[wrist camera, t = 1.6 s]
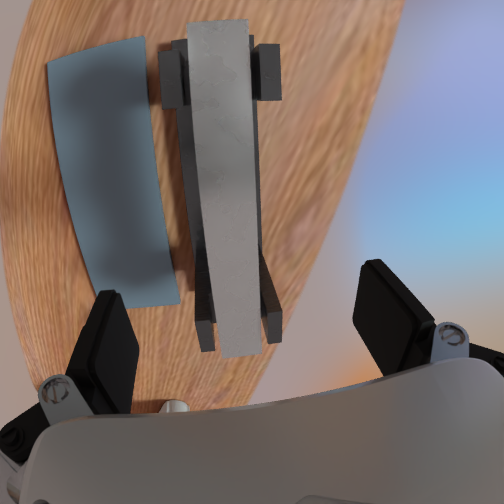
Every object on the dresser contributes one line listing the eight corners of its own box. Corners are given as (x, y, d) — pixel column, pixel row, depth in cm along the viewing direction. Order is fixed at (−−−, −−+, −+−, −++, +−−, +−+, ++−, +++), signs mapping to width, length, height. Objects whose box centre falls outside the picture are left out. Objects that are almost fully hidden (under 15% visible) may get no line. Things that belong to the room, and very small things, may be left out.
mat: (50, 62, 18) (47, 62, 18) (144, 37, 19) (143, 35, 19) (103, 307, 31) (102, 310, 31) (180, 300, 32) (180, 304, 31)
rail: (189, 32, 14) (186, 23, 11) (242, 29, 14) (248, 19, 12) (220, 336, 24) (222, 358, 22) (256, 331, 25) (261, 353, 23)
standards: (172, 43, 20) (150, 8, 10) (251, 37, 21) (283, 0, 11) (200, 290, 32) (202, 373, 22) (261, 283, 32) (284, 363, 23)
